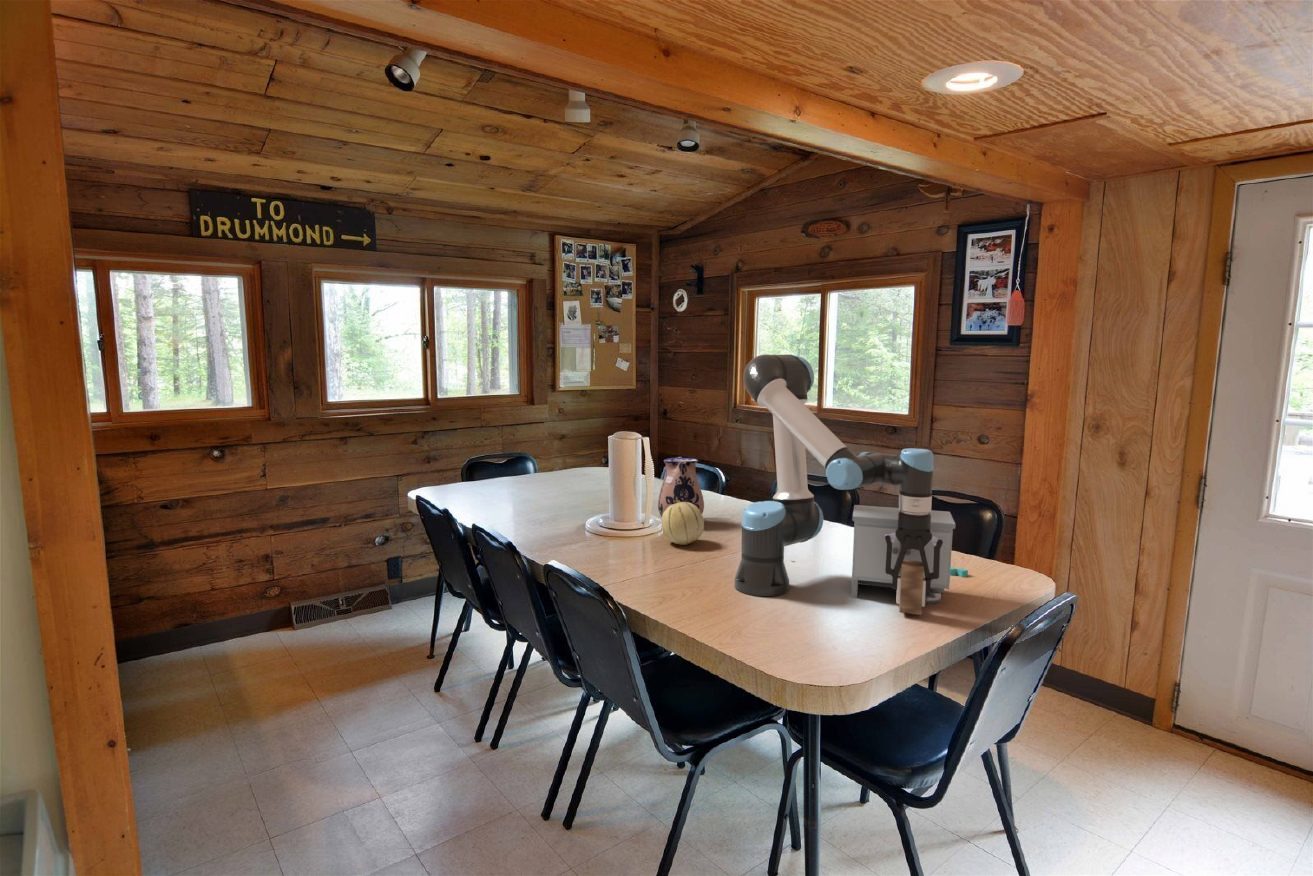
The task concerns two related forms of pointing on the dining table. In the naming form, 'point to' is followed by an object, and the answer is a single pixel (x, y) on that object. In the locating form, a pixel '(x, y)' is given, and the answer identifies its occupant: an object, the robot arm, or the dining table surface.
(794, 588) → the dining table surface
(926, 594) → the steel puck
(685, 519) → the cantaloupe
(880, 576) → the cabinet
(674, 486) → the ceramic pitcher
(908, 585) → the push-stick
